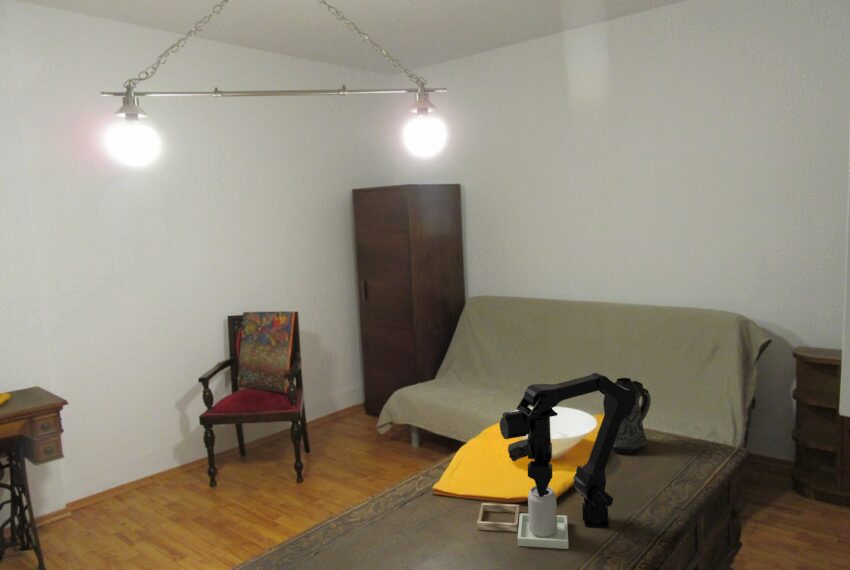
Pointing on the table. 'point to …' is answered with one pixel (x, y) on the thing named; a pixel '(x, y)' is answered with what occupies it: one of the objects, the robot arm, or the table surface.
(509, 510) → the holder
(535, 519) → the can
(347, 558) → the table surface
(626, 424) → the beer stein
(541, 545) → the tray
